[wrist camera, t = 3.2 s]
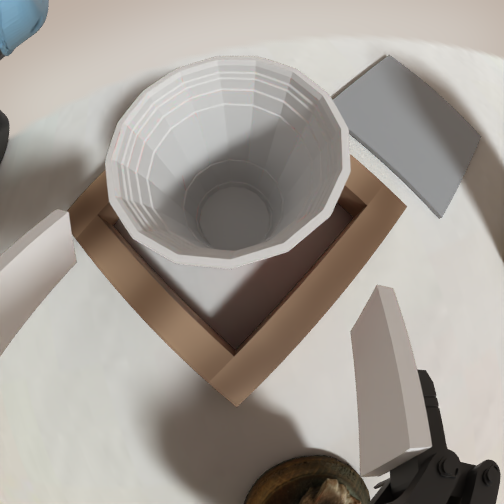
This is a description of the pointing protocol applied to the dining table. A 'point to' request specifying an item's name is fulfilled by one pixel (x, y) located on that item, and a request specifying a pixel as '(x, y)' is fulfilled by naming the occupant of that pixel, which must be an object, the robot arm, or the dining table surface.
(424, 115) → the rubber mat
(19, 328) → the robot arm
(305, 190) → the plastic cup
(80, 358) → the dining table surface
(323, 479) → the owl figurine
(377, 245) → the square wooden frame
